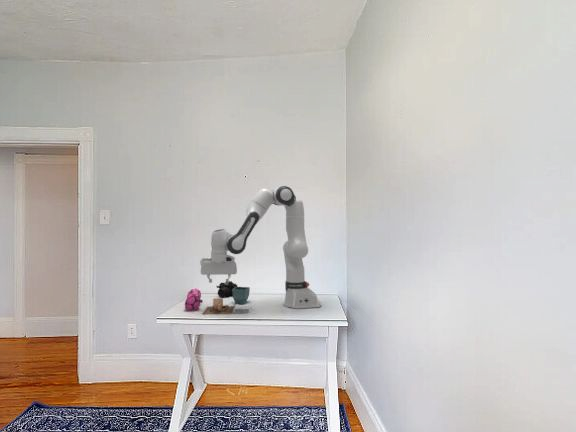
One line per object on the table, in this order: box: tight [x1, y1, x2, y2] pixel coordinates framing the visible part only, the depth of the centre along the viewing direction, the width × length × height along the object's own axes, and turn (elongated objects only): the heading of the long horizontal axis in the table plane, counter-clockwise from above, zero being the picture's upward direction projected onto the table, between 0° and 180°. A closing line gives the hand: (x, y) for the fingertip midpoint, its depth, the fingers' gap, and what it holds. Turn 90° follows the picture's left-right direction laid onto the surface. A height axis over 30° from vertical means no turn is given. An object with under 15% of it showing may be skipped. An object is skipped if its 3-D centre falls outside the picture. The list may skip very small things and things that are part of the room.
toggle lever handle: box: [212, 297, 224, 310], centre depth 194 cm, size 10×5×6 cm, turn 16°
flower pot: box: [232, 286, 251, 305], centre depth 215 cm, size 9×9×9 cm
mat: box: [233, 308, 250, 315], centre depth 194 cm, size 8×8×1 cm
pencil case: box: [184, 288, 203, 312], centre depth 206 cm, size 21×10×10 cm, turn 15°
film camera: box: [216, 280, 238, 299], centre depth 233 cm, size 18×12×10 cm
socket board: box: [202, 304, 236, 315], centre depth 197 cm, size 16×16×2 cm
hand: (218, 282), depth 197 cm, fingers open, 8 cm apart
